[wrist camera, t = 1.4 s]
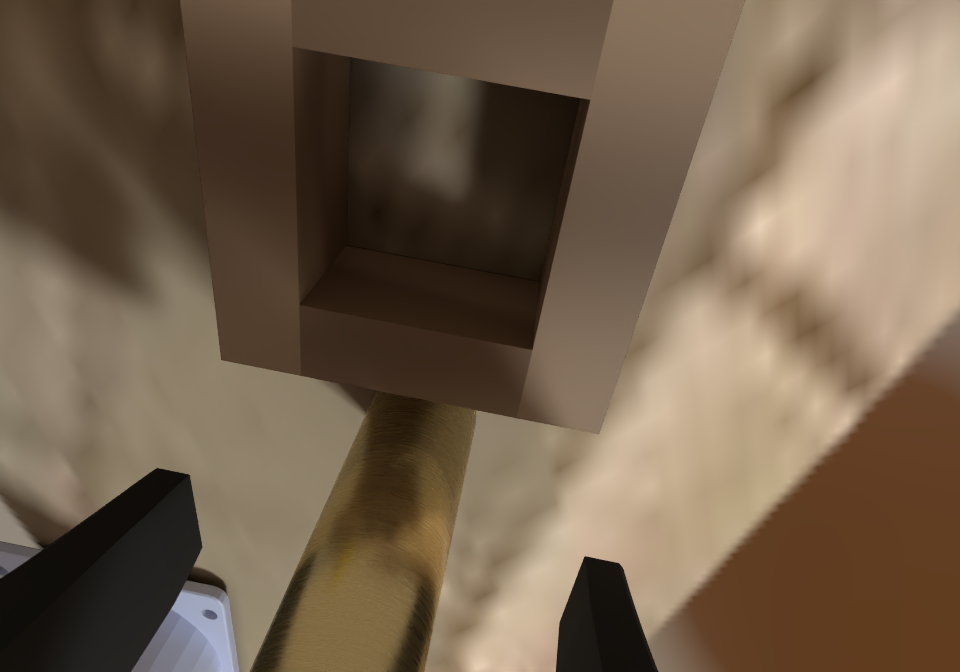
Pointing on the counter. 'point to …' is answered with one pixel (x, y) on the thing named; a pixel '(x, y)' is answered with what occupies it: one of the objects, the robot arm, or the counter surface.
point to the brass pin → (377, 546)
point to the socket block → (423, 284)
